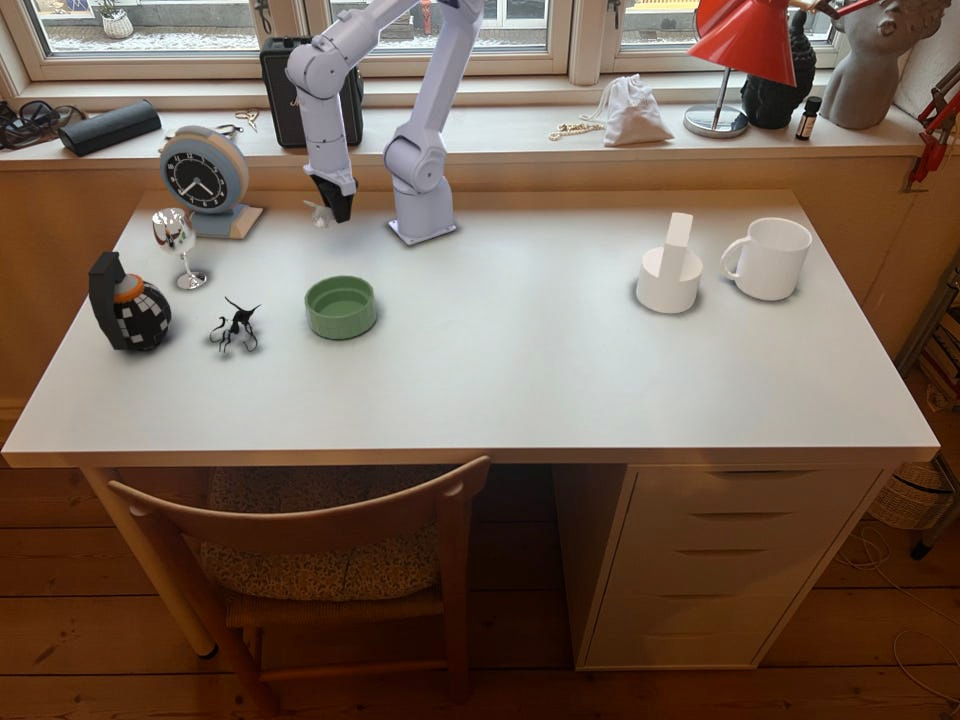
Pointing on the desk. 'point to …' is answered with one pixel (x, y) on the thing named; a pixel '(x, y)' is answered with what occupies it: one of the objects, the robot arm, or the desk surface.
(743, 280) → the mug
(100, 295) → the grenade
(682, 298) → the cylinder with rectangular tab
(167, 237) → the wineglass
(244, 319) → the creature
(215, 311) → the desk surface
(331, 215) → the dog figurine
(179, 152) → the alarm clock
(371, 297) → the bowl
